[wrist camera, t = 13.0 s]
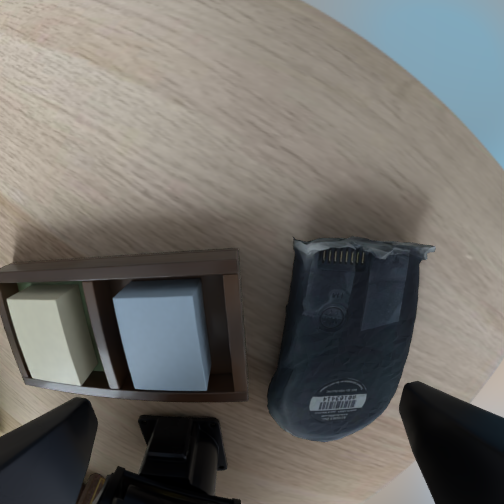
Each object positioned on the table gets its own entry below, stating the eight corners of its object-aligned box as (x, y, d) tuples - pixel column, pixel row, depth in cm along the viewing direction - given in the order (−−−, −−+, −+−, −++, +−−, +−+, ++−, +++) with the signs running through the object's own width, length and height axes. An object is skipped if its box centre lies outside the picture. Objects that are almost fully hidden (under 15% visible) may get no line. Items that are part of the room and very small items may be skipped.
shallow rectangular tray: (248, 376, 21) (248, 401, 18) (41, 367, 21) (25, 384, 18) (238, 247, 19) (237, 258, 16) (12, 262, 19) (-11, 272, 16)
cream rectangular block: (98, 363, 20) (81, 386, 17) (51, 358, 20) (32, 378, 17) (78, 284, 18) (55, 299, 15) (30, 285, 18) (6, 298, 15)
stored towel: (211, 364, 20) (206, 391, 17) (147, 364, 20) (134, 389, 17) (200, 277, 18) (192, 295, 16) (130, 281, 18) (112, 297, 16)
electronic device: (271, 231, 20) (260, 432, 21) (297, 234, 15) (276, 480, 16) (394, 237, 21) (368, 417, 23) (444, 241, 16) (401, 452, 17)
